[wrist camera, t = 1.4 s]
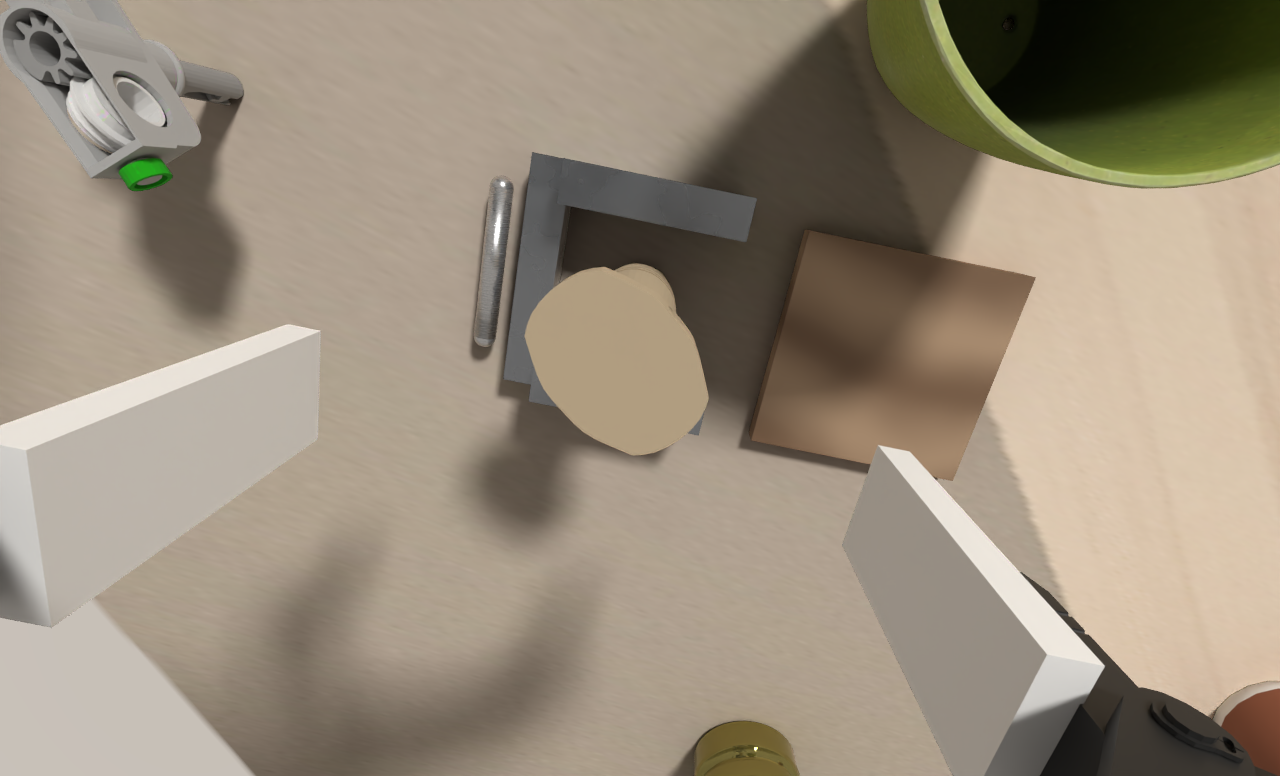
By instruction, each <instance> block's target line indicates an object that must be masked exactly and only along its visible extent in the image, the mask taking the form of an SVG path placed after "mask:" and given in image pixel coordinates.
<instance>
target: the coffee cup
mask: <svg viewBox="0 0 1280 776" xmlns="http://www.w3.org/2000/svg"><path fill="white" fill-rule="evenodd" d="M1213 721H1215V722H1216V723H1217V724H1218V725H1220V726H1221V727H1222V728H1223V729H1225V730H1226V731H1227V732H1228V733H1230V734H1231V735H1232V736H1233V737H1234V738H1235V739H1236V740H1237V741H1238V742H1239V743H1240V745H1241V746H1242V747H1243V748H1244V749H1245V750H1246V751H1247V752H1248V754H1249V756H1250V758H1251V760H1252V762H1253V764H1254V766H1256V767H1258V768H1261V769H1263V770H1265V771H1268V772H1270V773H1273V774H1275V775H1278V776H1280V681H1266V682H1262V683H1258V684H1254V685H1250V686H1247V687H1245V688H1243V689H1241V690H1240V691H1238V692H1236V693H1234V694H1232V695H1230V696H1229V697H1228V698H1227V699H1226V700H1225V701H1224V702H1223V703H1222V704H1221V705H1220V706H1219V707H1218V708H1217V710H1216V713H1215V715H1214V718H1213Z"/></svg>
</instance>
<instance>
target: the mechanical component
mask: <svg viewBox="0 0 1280 776" xmlns="http://www.w3.org/2000/svg"><path fill="white" fill-rule="evenodd" d="M5 1H6V2H7V4H8V5H9V7H10V8H9V9H8V10H6V11H5V12H3V13H2V14H1V15H0V54H1V56H2V58H3V60H4V62H5V63H6V65H7V66H8V68H9V69H10V71H11V72H12V73H13V74H14V75H15V76H16V77H17V78H18V79H19V80H21V81H22V82H23V83H24V84H25V86H26V87H27V89H28V90H29V91H30V93H31V94H32V96H33V97H34V99H35V100H36V101H37V103H38V104H39V106H40V107H41V108H42V110H43V111H44V113H45V114H46V115H47V117H48V118H49V120H50V121H51V123H52V124H53V125H54V127H55V128H56V130H57V131H58V132H59V134H60V135H61V137H62V138H63V139H64V141H65V142H66V144H67V145H68V146H69V148H70V149H71V151H72V152H73V154H74V155H75V156H76V158H77V159H78V161H79V162H80V163H81V165H82V166H83V168H84V169H85V170H86V172H87V173H88V175H89V176H90V178H114V179H123V181H124V182H125V183H126V185H127V186H128V188H129V189H130V190H132V191H143V190H149V189H152V188H155V187H158V186H161V185H163V184H165V183H167V182H168V181H170V180H171V178H172V177H173V176H172V174H171V172H170V171H169V169H168V168H167V166H166V164H168V163H169V162H171V161H173V160H174V159H176V158H177V157H179V156H181V155H182V154H184V153H186V152H187V151H189V150H191V149H192V148H194V147H195V146H197V145H198V144H199V143H200V141H201V134H200V131H199V128H198V126H197V124H196V123H195V121H194V119H193V118H192V116H191V115H190V113H189V111H188V110H187V108H186V107H185V105H184V104H183V102H182V101H181V99H180V97H186V98H191V99H197V100H202V101H207V102H213V103H218V104H224V105H230V102H229V100H228V99H230V98H233V99H238V98H240V97H242V96H243V87H242V84H241V82H240V81H239V79H238V78H237V77H236V76H234V75H232V74H230V73H227V72H223V71H219V70H215V69H211V68H208V67H204V66H200V65H196V64H192V63H188V62H184V61H181V60H179V59H178V58H177V56H176V55H175V54H174V53H173V52H172V51H171V50H170V49H169V48H168V47H166V46H165V45H163V44H161V43H160V42H157V41H154V40H142V38H141V37H140V35H139V34H138V32H137V31H136V29H135V28H134V26H133V24H132V23H131V21H130V20H129V18H128V17H127V15H126V14H125V12H124V10H123V9H122V7H121V6H120V4H119V3H118V1H117V0H5ZM67 108H68V111H69V113H70V115H71V117H72V119H73V120H74V122H75V123H76V124H77V126H78V127H79V128H80V129H81V130H82V131H83V132H84V133H85V134H86V135H87V136H88V137H89V138H91V139H92V140H93V141H94V142H96V143H97V144H99V145H100V146H101V147H103V148H105V149H107V150H109V151H110V152H113V153H112V154H111V153H108V152H105V151H103V150H101V149H99V148H98V147H96V146H94V145H93V144H91V143H90V142H89V141H88V140H86V139H85V138H84V137H83V136H82V135H81V134H80V133H79V132H78V131H77V130H76V128H75V127H74V126H73V124H72V123H71V121H70V119H69V117H68V114H67Z"/></svg>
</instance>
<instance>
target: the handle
mask: <svg viewBox="0 0 1280 776" xmlns="http://www.w3.org/2000/svg"><path fill="white" fill-rule="evenodd" d="M525 339H526V343H527V346H528V349H529V352H530V356H531V359H532V362H533V365H534V368H535V371H536V374H537V376H538V378H539V381H540V383H541V385H542V387H543V389H544V390H545V392H546V393H547V394H548V396H549V397H550V398H551V400H552V401H553V402H554V403H555V404H556V405H557V406H558V407H559V408H560V410H561V411H562V412H563V413H564V414H565V415H566V416H567V417H568V418H569V419H570V420H571V421H572V423H574V424H575V425H576V426H577V427H578V428H579V429H580V430H581V431H582V432H584V433H585V434H587V435H589V436H590V437H592V438H594V439H596V440H598V441H600V442H602V443H604V444H607V445H609V446H611V447H613V448H616V449H618V450H620V451H623V452H625V453H627V454H630V455H632V456H634V455H645V454H650V453H655V452H657V451H660V450H662V449H664V448H667V447H669V446H670V445H672V444H673V443H675V442H677V441H678V440H680V439H681V438H682V437H683V436H684V435H686V434H687V433H688V432H689V431H690V430H691V429H692V428H693V427H694V426H695V425H696V423H697V422H698V421H699V420H700V418H701V416H702V414H703V412H704V410H705V408H706V405H707V403H708V400H709V396H708V391H707V386H706V382H705V377H704V373H703V368H702V364H701V360H700V357H699V353H698V350H697V347H696V344H695V341H694V338H693V336H692V334H691V332H690V331H689V329H688V328H687V327H686V325H685V324H684V323H683V321H682V320H681V319H680V318H679V316H678V315H677V314H676V304H675V298H674V294H673V291H672V289H671V287H670V285H669V283H668V281H667V280H666V277H665V276H664V274H663V273H662V272H661V271H660V270H656V269H655V268H653V267H651V266H648V265H644V264H638V263H636V262H635V263H630V264H628V265H625V266H622V267H620V268H618V269H616V270H611V269H609V268H606V267H598V268H591V269H587V270H583V271H580V272H578V273H576V274H574V275H572V276H570V277H568V278H566V279H565V280H564V281H562V282H561V283H560V284H558V285H557V286H555V287H554V288H553V289H552V290H551V291H550V292H549V293H548V294H547V295H546V296H545V297H544V298H543V299H542V300H541V301H540V302H539V303H538V305H537V306H536V308H535V309H534V311H533V312H532V314H531V316H530V319H529V321H528V324H527V327H526V332H525Z"/></svg>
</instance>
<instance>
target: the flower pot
mask: <svg viewBox="0 0 1280 776" xmlns="http://www.w3.org/2000/svg"><path fill="white" fill-rule="evenodd" d="M1007 18H1013V20H1014V27H1013V28H1012V29H1010V30H1005V29H1004V28H1003V23H1004V21H1005V20H1006V19H1007ZM867 24H868V34H869V41H870V46H871V51H872V55H873V58H874V61H875V64H876V66H877V69H878V71H879V73H880V75H881V77H882V79H883V81H884V82H885V84H886V85H887V87H888V88H889V90H890V91H891V92H892V94H893V95H894V96H895V97H896V99H897V100H898V101H899V102H900V103H901V104H902V105H903V106H904V107H906V108H907V109H908V110H909V111H910V112H911V113H912V114H914V115H915V116H916V117H917V118H919V119H920V120H922V121H923V122H924V123H926V124H927V125H929V126H931V127H932V128H934V129H935V130H937V131H939V132H940V133H942V134H944V135H946V136H948V137H950V138H952V139H954V140H956V141H958V142H960V143H962V144H964V145H966V146H968V147H971V148H973V149H975V150H978V151H981V152H983V153H986V154H989V155H991V156H994V157H996V158H999V159H1002V160H1006V161H1009V162H1012V163H1016V164H1019V165H1023V166H1026V167H1030V168H1035V169H1039V170H1043V171H1047V172H1051V173H1055V174H1059V175H1064V176H1069V177H1074V178H1079V179H1083V180H1088V181H1093V182H1098V183H1103V184H1108V185H1115V186H1122V187H1131V188H1177V187H1186V186H1195V185H1202V184H1209V183H1216V182H1220V181H1225V180H1229V179H1234V178H1238V177H1243V176H1246V175H1250V174H1253V173H1256V172H1259V171H1262V170H1265V169H1268V168H1271V167H1274V166H1277V165H1279V164H1280V0H867Z"/></svg>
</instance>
